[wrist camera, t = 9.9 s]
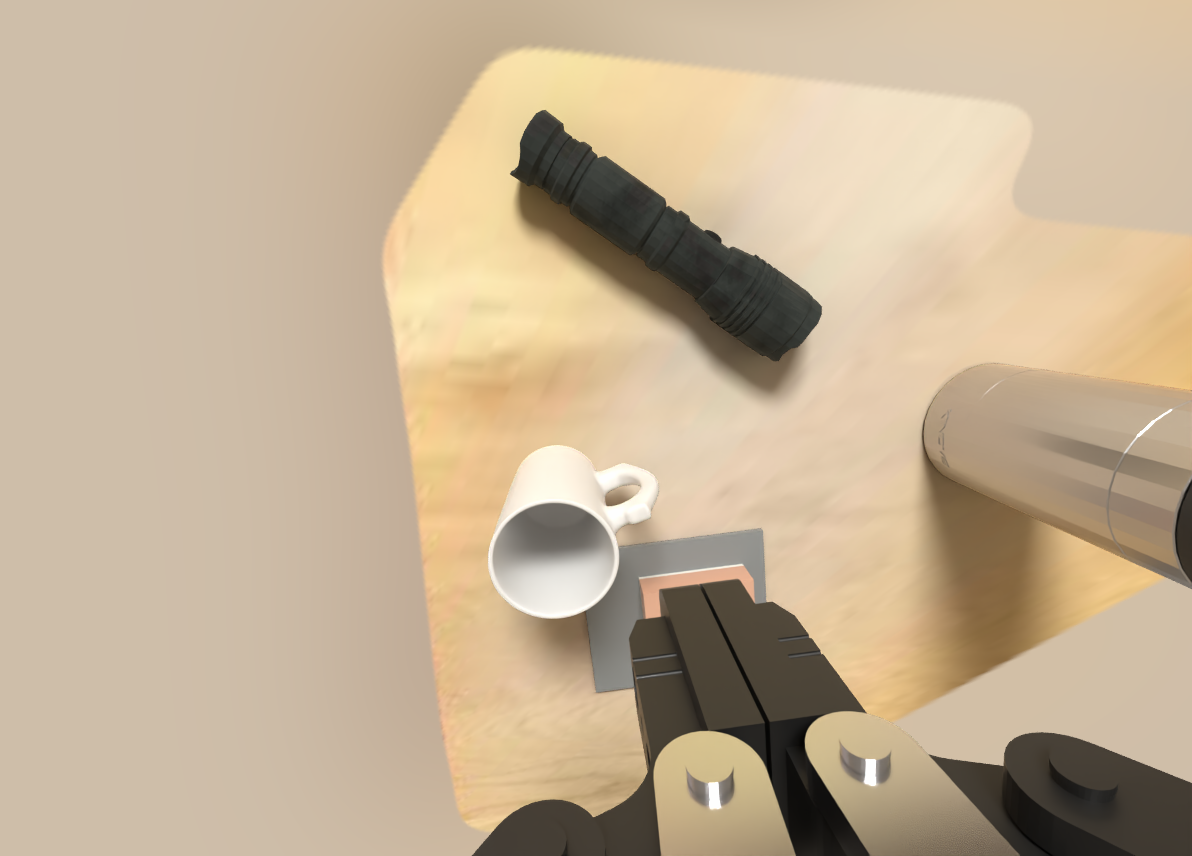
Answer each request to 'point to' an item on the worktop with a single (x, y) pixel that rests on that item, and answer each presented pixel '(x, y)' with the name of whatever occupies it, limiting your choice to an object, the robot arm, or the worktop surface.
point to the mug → (563, 531)
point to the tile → (656, 582)
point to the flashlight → (668, 241)
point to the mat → (623, 599)
